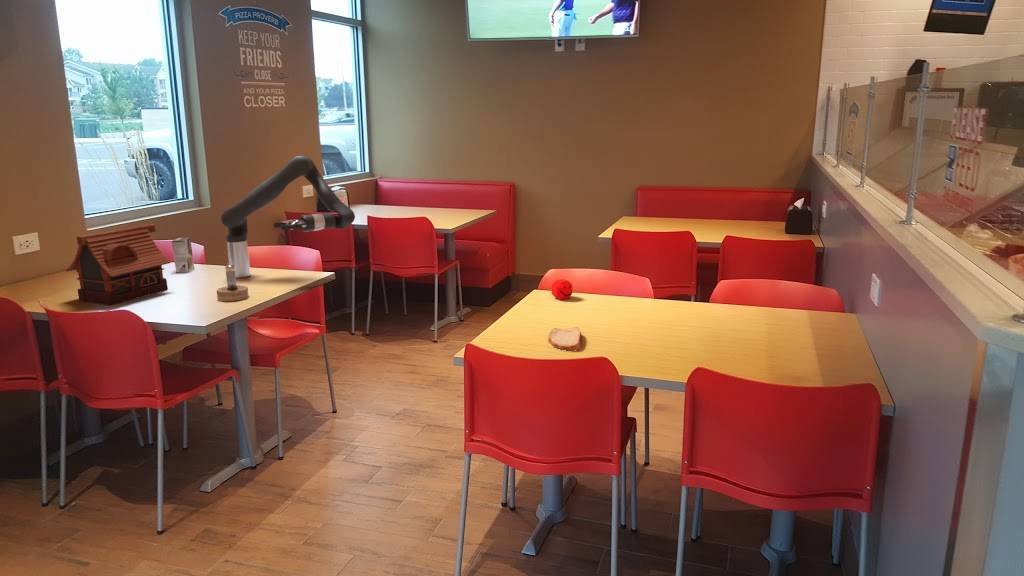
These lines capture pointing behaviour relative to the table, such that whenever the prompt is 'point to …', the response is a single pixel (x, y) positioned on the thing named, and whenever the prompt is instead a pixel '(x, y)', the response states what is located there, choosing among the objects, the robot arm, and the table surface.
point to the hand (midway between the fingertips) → (277, 226)
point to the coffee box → (183, 254)
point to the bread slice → (565, 339)
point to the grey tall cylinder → (231, 277)
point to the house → (119, 265)
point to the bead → (232, 293)
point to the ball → (561, 289)
